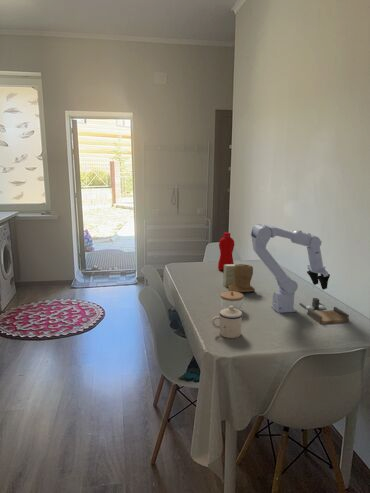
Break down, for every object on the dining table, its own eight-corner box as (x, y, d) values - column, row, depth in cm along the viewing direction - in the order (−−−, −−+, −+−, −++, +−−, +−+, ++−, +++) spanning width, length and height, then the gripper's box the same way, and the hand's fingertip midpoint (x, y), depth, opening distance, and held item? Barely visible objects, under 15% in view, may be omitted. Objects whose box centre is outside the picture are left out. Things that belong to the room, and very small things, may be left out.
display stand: (320, 323, 160) (320, 317, 159) (307, 314, 170) (307, 308, 170) (348, 321, 163) (349, 315, 162) (334, 312, 173) (334, 306, 173)
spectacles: (307, 310, 175) (308, 300, 174) (299, 304, 183) (300, 295, 182) (327, 309, 177) (328, 299, 176) (318, 303, 185) (319, 294, 184)
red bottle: (236, 268, 248) (237, 232, 243) (229, 272, 239) (230, 234, 234) (223, 266, 253) (225, 230, 248) (216, 270, 244) (217, 232, 239)
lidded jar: (216, 307, 177) (216, 289, 175) (235, 305, 181) (236, 286, 179) (226, 316, 167) (227, 296, 165) (247, 313, 171) (248, 293, 169)
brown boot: (250, 287, 210) (251, 261, 206) (257, 294, 198) (258, 266, 195) (224, 287, 207) (225, 262, 204) (229, 294, 196) (230, 267, 193)
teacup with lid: (239, 329, 154) (240, 302, 151) (243, 338, 145) (244, 310, 142) (210, 328, 153) (211, 302, 151) (212, 338, 145) (213, 310, 142)
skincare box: (225, 287, 209) (226, 266, 206) (222, 284, 213) (223, 264, 211) (235, 286, 210) (236, 265, 208) (232, 284, 215) (233, 263, 212)
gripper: (332, 260, 167) (336, 288, 170) (314, 254, 181) (319, 279, 184) (318, 265, 166) (323, 293, 169) (301, 258, 180) (306, 284, 183)
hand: (320, 286), depth 176 cm, fingers open, 7 cm apart
